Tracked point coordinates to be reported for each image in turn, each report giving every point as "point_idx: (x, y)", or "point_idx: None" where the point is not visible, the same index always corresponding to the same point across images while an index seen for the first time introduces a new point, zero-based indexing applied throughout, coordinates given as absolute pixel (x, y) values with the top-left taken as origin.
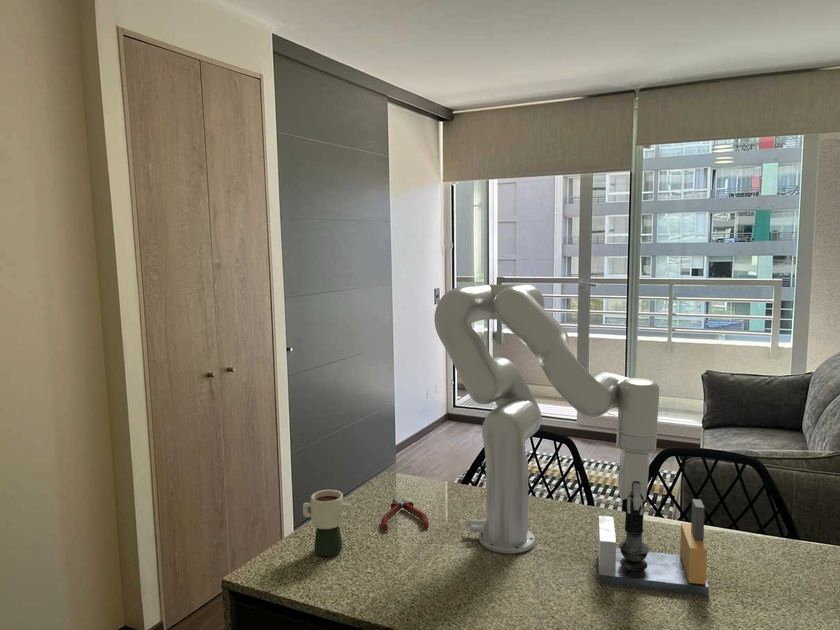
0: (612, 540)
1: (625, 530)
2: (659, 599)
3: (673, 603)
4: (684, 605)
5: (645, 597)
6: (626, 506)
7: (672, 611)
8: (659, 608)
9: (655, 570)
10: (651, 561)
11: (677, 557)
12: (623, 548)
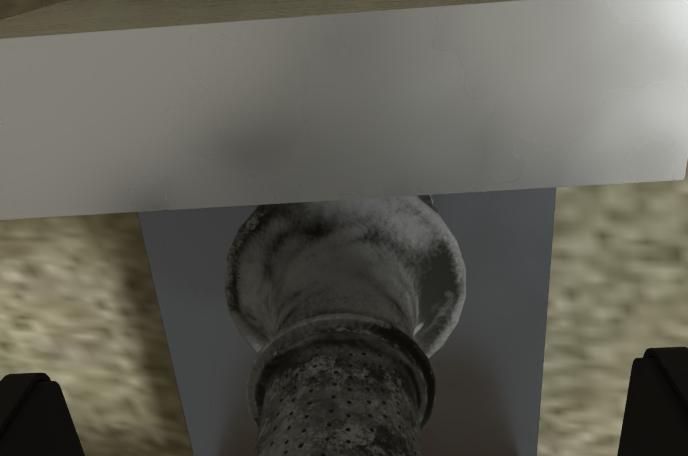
0: (5, 184)
1: (6, 380)
2: (104, 318)
3: (98, 373)
4: (104, 412)
5: (90, 256)
6: (656, 441)
7: (21, 364)
8: (15, 314)
9: None
10: None
11: (500, 453)
12: (275, 216)
